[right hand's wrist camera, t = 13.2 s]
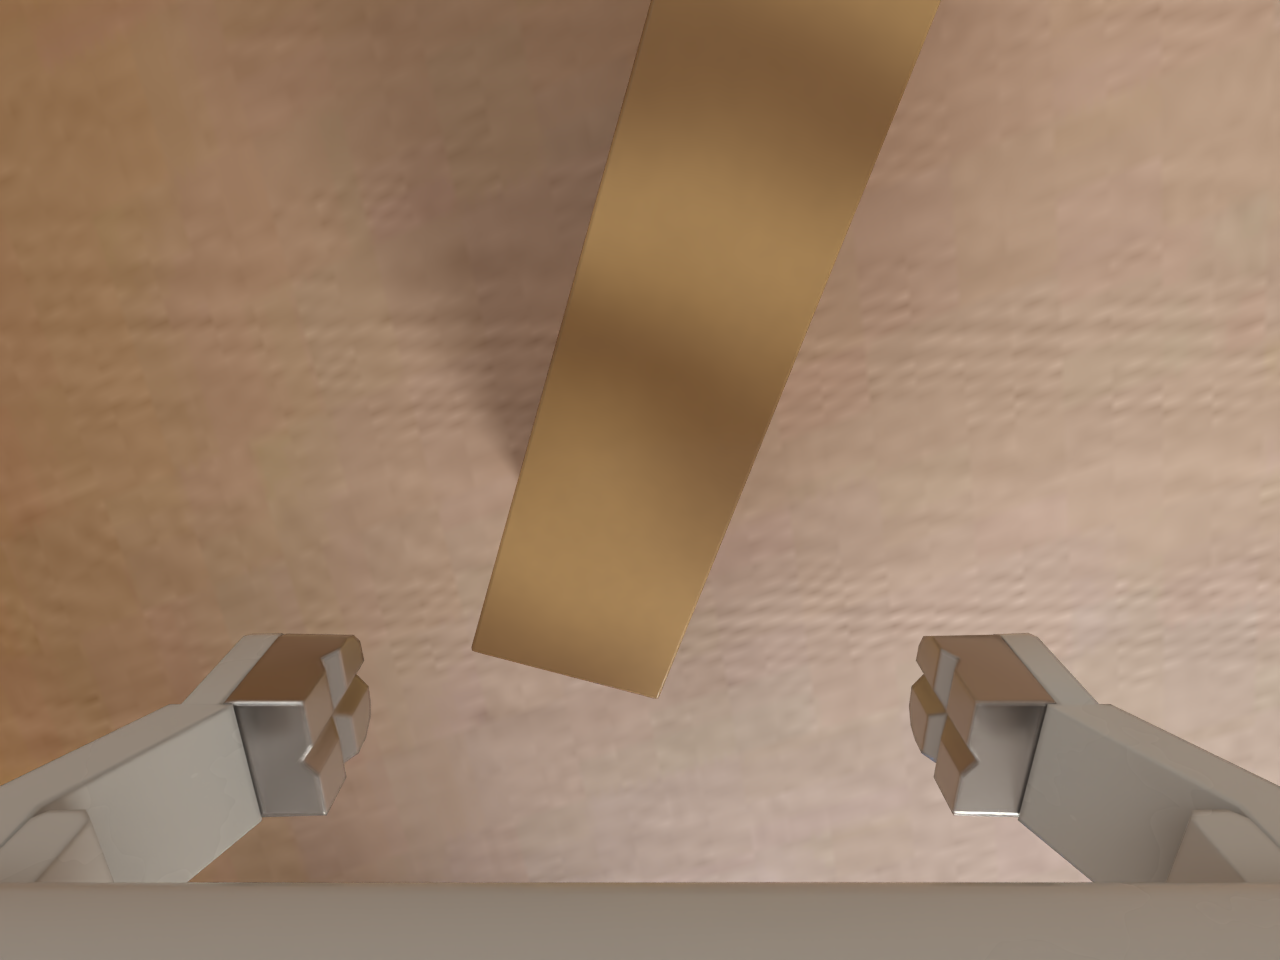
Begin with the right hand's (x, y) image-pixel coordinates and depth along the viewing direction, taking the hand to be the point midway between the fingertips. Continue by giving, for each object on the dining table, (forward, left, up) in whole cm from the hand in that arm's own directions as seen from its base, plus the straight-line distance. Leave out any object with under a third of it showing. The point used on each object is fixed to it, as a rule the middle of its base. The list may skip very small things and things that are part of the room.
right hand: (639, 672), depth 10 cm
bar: (+5, +5, -14) cm, 16 cm away
